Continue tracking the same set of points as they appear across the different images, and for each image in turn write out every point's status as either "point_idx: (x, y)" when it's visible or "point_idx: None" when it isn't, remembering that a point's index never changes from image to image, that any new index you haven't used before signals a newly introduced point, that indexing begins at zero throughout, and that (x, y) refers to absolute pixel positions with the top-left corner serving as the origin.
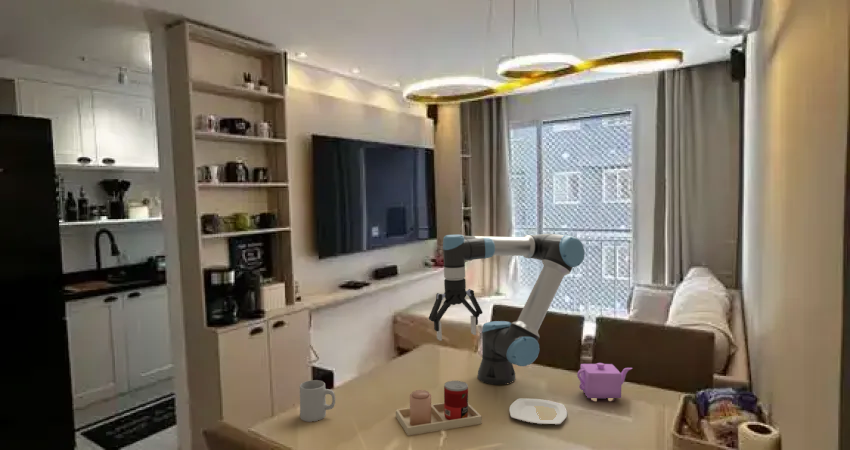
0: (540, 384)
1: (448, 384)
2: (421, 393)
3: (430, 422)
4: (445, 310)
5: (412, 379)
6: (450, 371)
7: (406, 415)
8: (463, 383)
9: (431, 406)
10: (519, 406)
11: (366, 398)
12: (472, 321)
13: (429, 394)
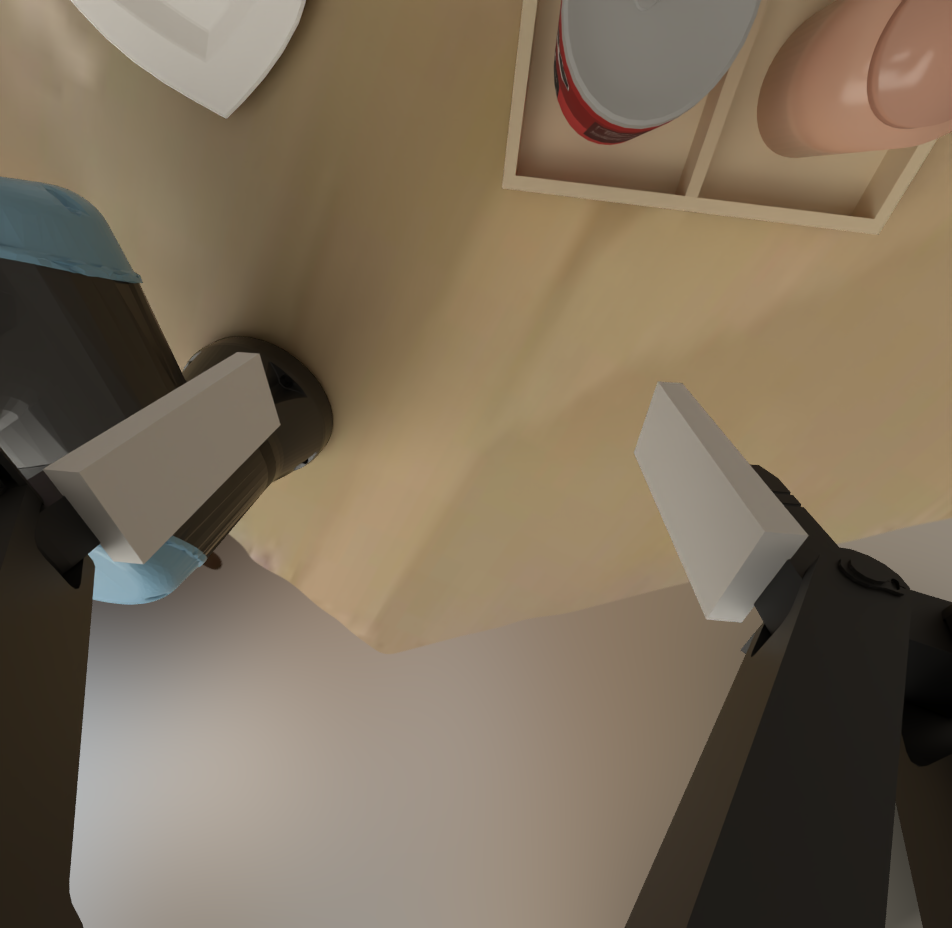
0: None
1: (689, 71)
2: None
3: (808, 20)
4: (772, 811)
5: (542, 515)
6: (399, 513)
7: (812, 211)
8: (580, 19)
9: (702, 183)
10: (244, 6)
11: (780, 459)
12: (171, 466)
13: (874, 33)
